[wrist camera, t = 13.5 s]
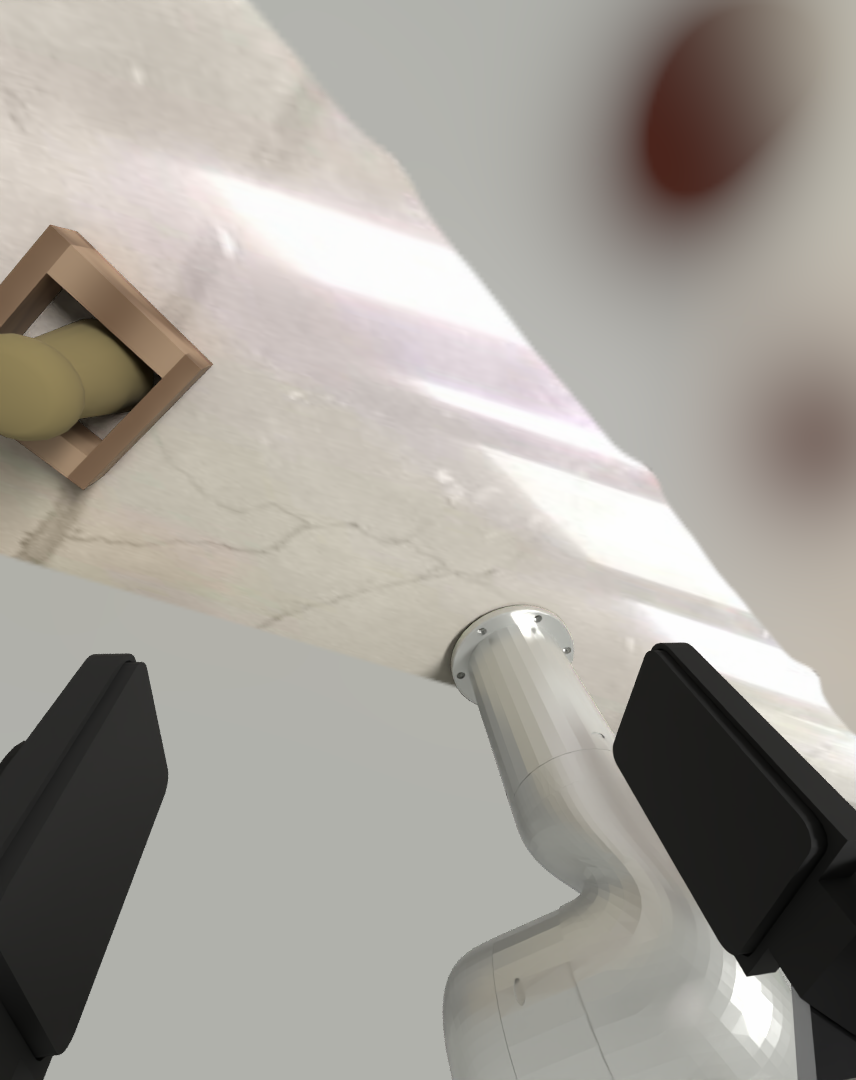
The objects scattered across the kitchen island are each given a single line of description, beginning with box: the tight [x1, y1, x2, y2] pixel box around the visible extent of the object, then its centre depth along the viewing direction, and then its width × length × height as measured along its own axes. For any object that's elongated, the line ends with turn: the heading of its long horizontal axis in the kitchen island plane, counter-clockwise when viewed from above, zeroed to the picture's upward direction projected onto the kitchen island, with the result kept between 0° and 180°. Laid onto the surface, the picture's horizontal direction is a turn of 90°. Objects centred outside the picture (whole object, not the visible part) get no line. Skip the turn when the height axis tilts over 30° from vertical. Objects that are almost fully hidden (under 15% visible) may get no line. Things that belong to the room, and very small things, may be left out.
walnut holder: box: [0, 225, 213, 490], centre depth 31 cm, size 10×12×3 cm
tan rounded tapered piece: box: [0, 319, 154, 441], centre depth 28 cm, size 6×6×11 cm
